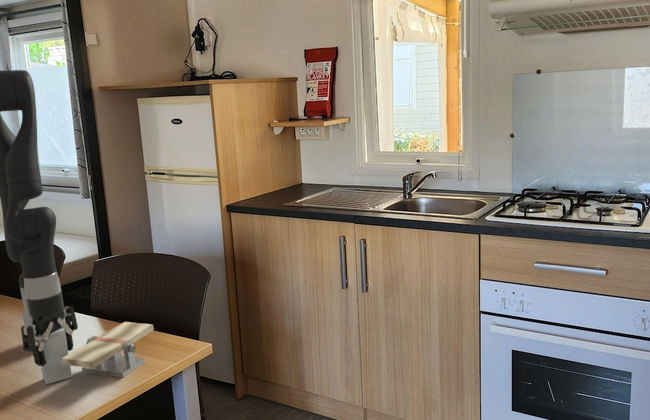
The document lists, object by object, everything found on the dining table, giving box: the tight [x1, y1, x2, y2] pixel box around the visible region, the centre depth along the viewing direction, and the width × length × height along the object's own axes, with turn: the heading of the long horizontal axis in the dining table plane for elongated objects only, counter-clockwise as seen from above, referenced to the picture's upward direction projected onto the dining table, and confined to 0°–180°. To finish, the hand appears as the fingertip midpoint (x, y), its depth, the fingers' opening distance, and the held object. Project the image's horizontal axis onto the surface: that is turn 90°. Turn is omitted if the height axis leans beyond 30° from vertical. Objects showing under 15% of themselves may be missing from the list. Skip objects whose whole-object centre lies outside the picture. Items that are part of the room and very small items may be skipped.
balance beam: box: [62, 321, 155, 368], centre depth 150 cm, size 9×22×2 cm, turn 158°
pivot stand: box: [81, 335, 146, 378], centre depth 151 cm, size 14×8×7 cm, turn 68°
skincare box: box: [38, 327, 73, 385], centre depth 147 cm, size 6×4×12 cm
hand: (55, 357), depth 147 cm, fingers open, 8 cm apart
